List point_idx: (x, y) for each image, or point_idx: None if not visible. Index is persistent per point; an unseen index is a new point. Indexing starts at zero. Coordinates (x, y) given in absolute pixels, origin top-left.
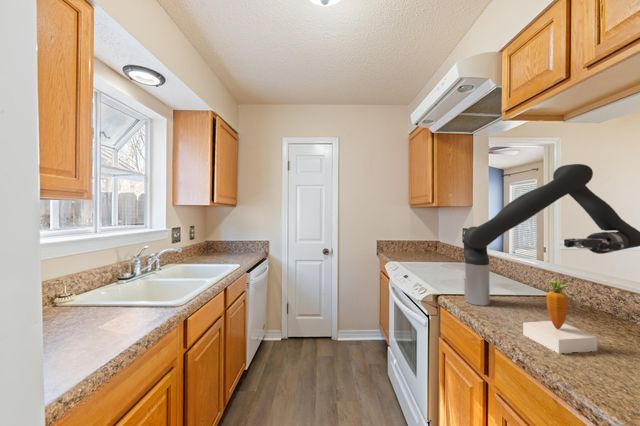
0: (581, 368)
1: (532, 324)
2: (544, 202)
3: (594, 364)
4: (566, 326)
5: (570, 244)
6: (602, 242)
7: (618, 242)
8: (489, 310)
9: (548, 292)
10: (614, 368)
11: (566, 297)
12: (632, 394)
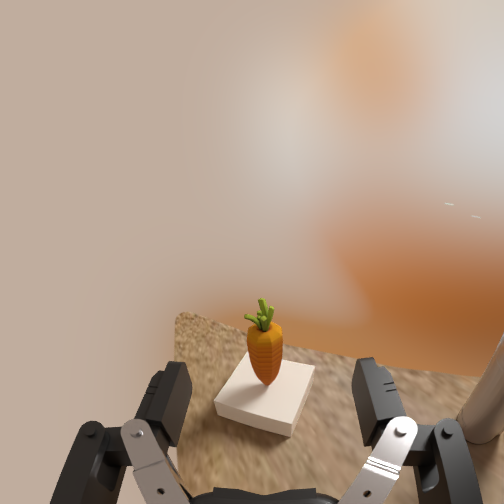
0: (218, 354)
1: (301, 370)
2: None
3: (210, 373)
4: (264, 408)
5: (360, 399)
6: (167, 462)
7: (70, 485)
8: (430, 415)
9: (277, 325)
10: (192, 380)
11: (247, 335)
12: (175, 344)
